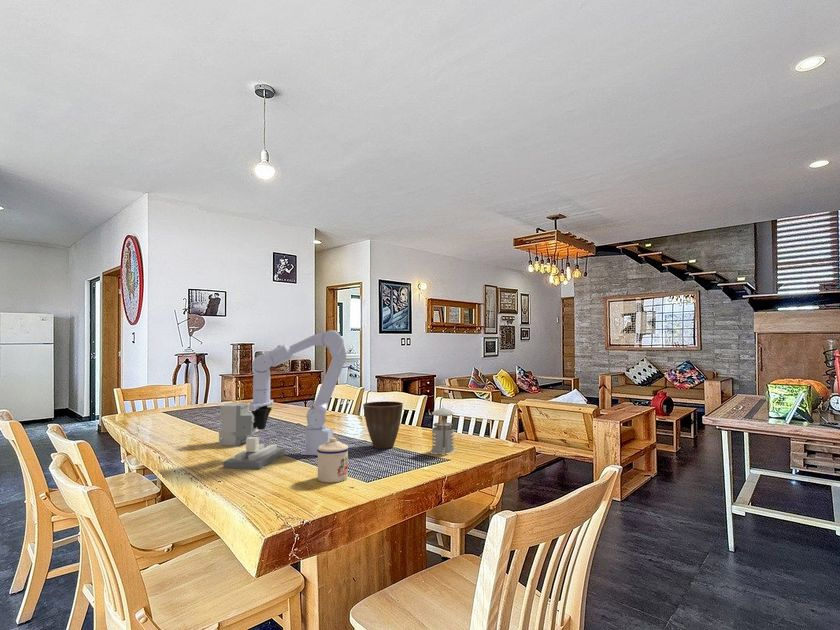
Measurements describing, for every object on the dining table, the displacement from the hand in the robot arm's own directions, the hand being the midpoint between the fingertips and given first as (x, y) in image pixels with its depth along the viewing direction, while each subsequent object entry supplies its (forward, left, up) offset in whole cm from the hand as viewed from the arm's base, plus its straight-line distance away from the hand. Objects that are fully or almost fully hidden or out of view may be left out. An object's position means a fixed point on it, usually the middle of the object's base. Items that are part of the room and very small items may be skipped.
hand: (261, 429), depth 161 cm
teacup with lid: (-33, +20, -10) cm, 40 cm away
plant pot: (-39, -20, -10) cm, 45 cm away
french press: (-62, -14, -10) cm, 64 cm away
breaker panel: (-1, +5, -9) cm, 11 cm away
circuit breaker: (+18, -19, -10) cm, 28 cm away
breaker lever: (-1, +8, -7) cm, 11 cm away
